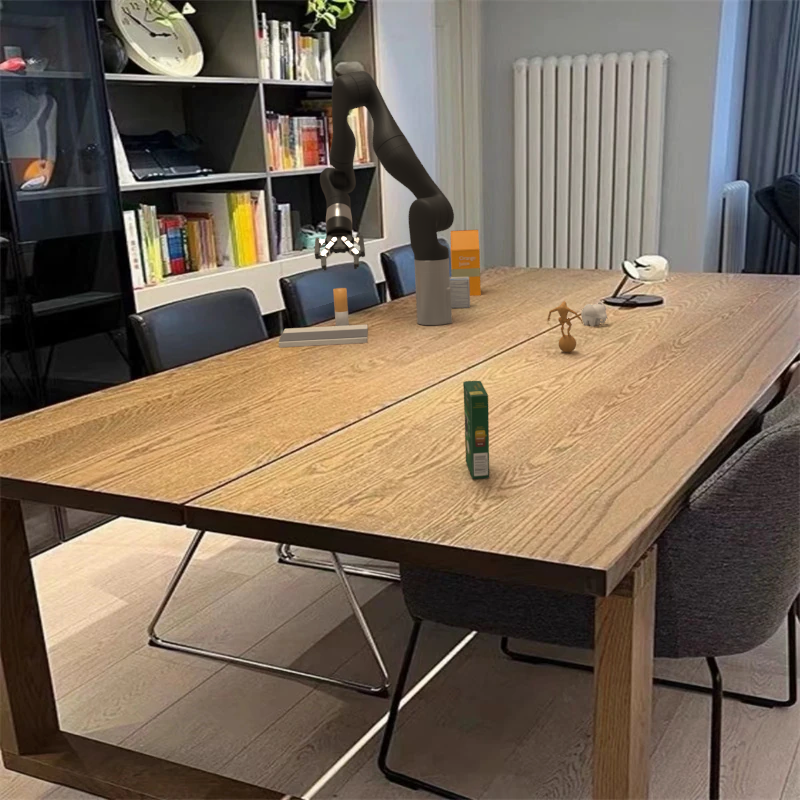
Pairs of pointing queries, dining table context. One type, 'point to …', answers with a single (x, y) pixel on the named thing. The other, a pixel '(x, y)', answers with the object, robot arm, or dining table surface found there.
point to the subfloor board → (324, 335)
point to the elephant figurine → (594, 314)
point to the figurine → (566, 341)
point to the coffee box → (476, 429)
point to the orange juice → (466, 258)
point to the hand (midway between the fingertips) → (340, 268)
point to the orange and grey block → (341, 306)
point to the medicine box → (460, 292)
